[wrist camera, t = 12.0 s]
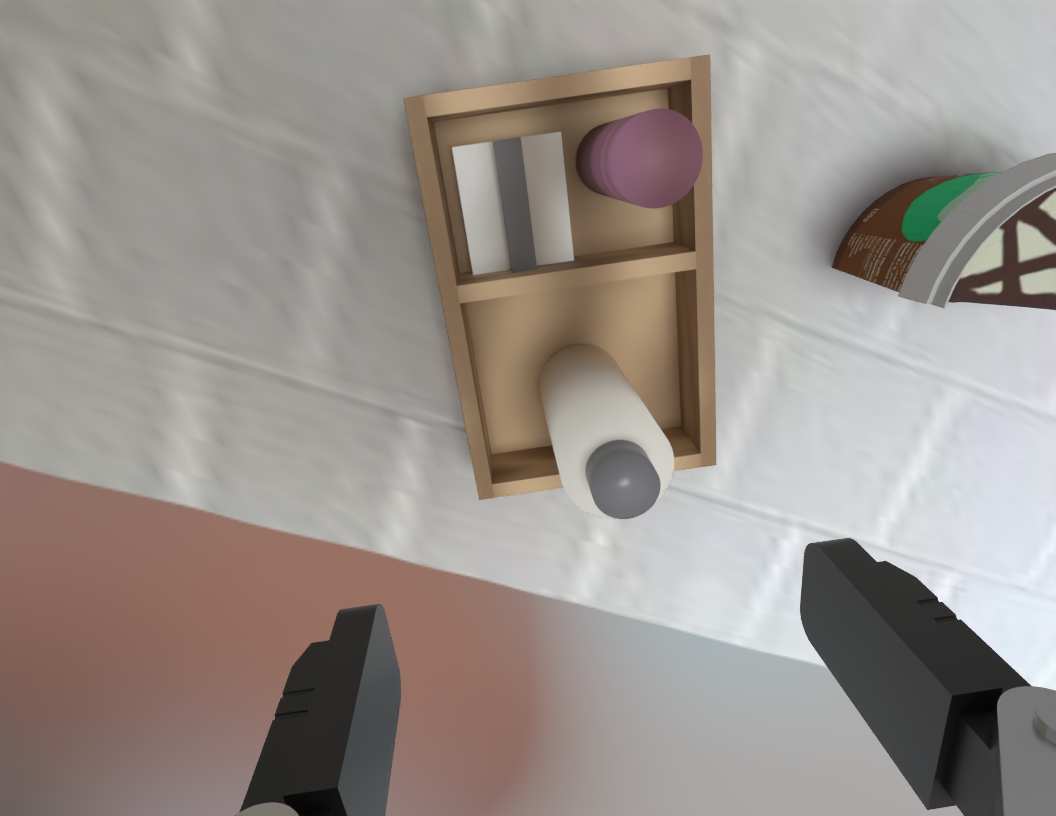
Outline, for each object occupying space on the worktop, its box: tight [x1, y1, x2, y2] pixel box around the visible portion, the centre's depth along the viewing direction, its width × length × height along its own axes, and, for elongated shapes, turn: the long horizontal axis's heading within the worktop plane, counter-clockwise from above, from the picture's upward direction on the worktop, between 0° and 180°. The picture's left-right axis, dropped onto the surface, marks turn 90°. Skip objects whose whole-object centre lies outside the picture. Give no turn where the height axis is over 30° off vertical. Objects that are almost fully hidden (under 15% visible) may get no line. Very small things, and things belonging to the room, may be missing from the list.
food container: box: [832, 153, 1056, 310], centre depth 28 cm, size 12×6×10 cm, turn 85°
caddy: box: [403, 55, 716, 500], centre depth 28 cm, size 13×19×10 cm, turn 7°
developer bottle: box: [539, 344, 674, 519], centre depth 28 cm, size 5×5×12 cm
